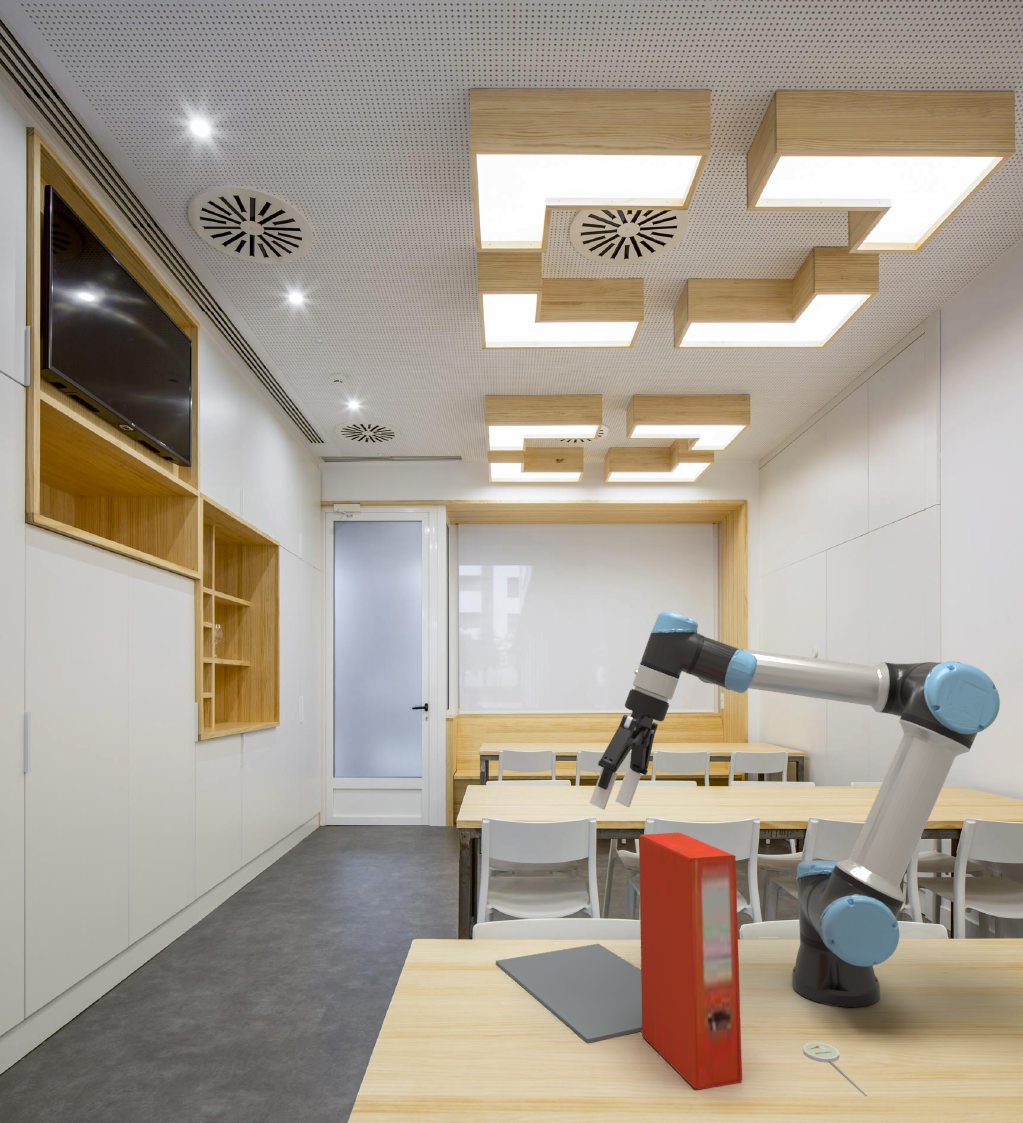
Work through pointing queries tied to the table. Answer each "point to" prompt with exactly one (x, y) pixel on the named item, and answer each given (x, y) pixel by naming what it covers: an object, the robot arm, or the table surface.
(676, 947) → the file binder
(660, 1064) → the table surface
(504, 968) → the mat
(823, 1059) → the sign
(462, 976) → the table surface
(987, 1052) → the table surface
